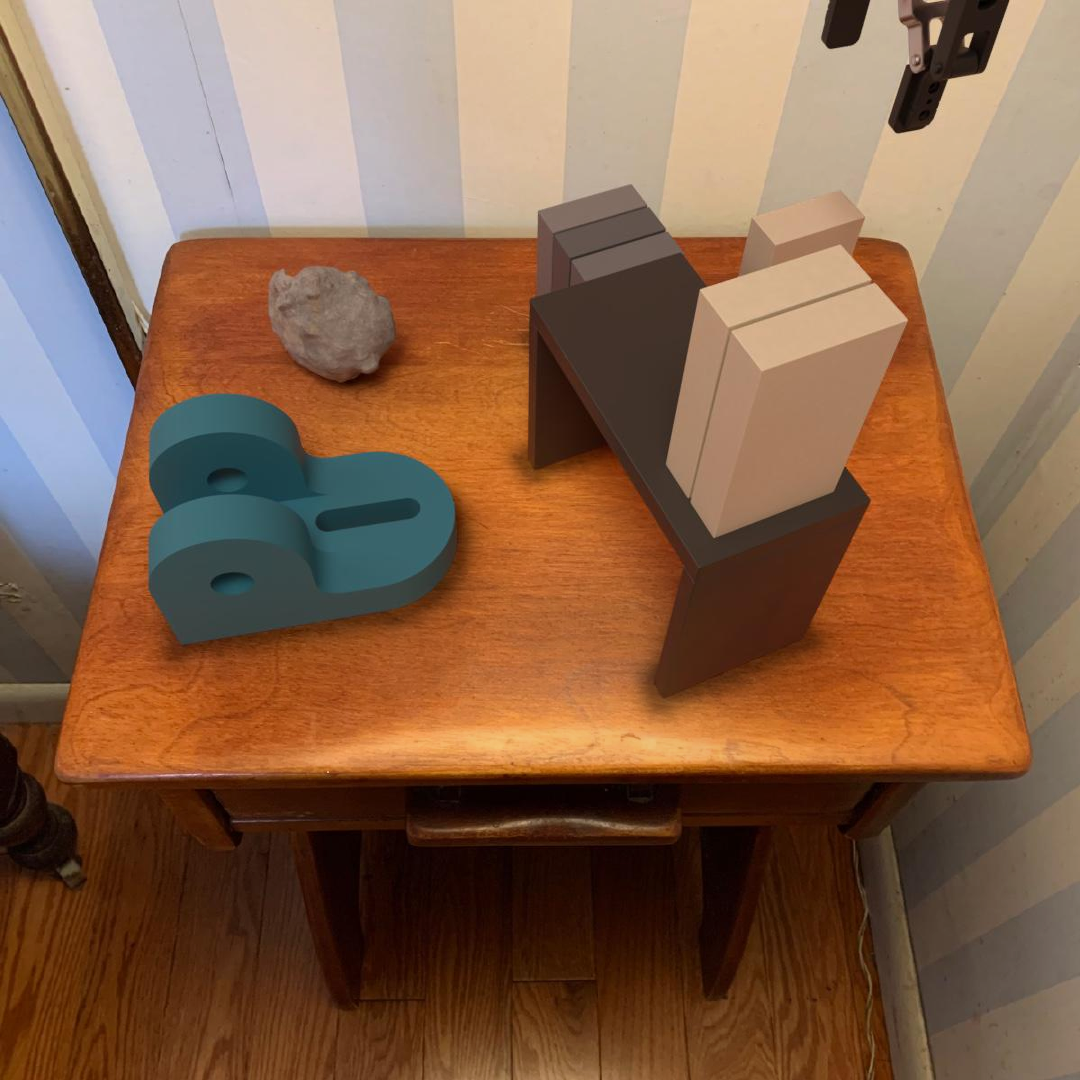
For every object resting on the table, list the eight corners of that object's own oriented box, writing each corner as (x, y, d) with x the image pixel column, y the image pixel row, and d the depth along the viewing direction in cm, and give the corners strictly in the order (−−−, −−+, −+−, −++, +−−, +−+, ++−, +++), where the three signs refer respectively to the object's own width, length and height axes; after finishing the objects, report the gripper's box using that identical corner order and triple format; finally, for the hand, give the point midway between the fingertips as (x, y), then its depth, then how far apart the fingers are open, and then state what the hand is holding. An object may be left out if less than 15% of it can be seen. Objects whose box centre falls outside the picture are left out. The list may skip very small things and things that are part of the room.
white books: (833, 492, 52) (909, 319, 42) (713, 538, 50) (761, 371, 40) (781, 422, 54) (840, 243, 44) (665, 464, 53) (699, 288, 43)
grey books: (663, 380, 76) (685, 253, 66) (578, 409, 74) (587, 284, 64) (617, 312, 80) (631, 183, 70) (535, 339, 78) (537, 210, 68)
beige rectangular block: (821, 344, 78) (865, 216, 68) (742, 371, 76) (775, 245, 66) (800, 318, 80) (840, 189, 70) (721, 344, 78) (751, 216, 68)
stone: (403, 332, 78) (389, 227, 70) (402, 400, 74) (387, 298, 66) (280, 336, 78) (251, 231, 69) (273, 405, 74) (241, 302, 66)
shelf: (803, 639, 64) (872, 500, 52) (662, 698, 62) (698, 568, 49) (653, 413, 74) (681, 251, 62) (527, 458, 72) (529, 298, 59)
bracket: (181, 645, 63) (126, 554, 55) (179, 507, 69) (129, 405, 60) (469, 597, 66) (461, 502, 57) (444, 467, 71) (434, 363, 62)
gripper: (1141, -196, 42) (993, 147, 56) (967, -320, 50) (873, 9, 63) (979, -175, 41) (868, 171, 55) (825, -305, 49) (761, 27, 62)
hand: (871, 84), depth 59 cm, fingers open, 8 cm apart
